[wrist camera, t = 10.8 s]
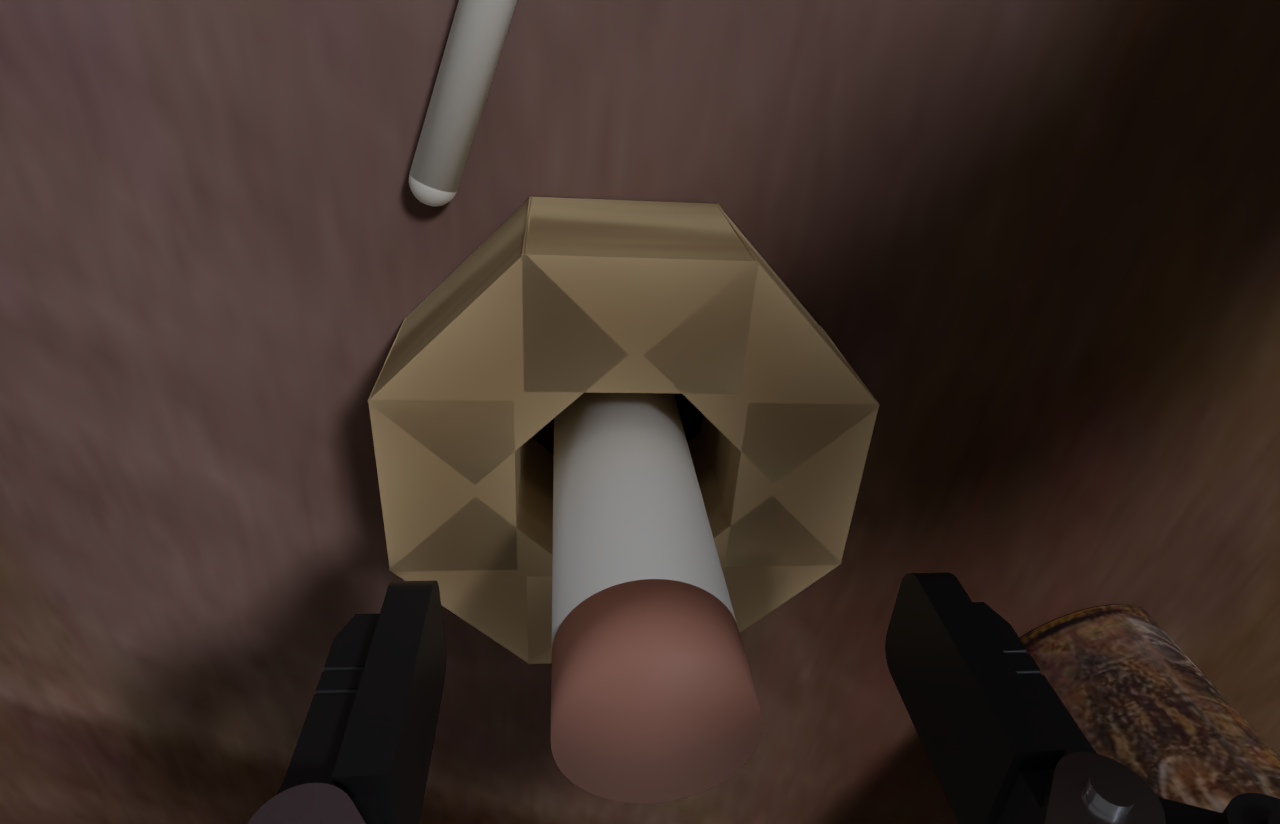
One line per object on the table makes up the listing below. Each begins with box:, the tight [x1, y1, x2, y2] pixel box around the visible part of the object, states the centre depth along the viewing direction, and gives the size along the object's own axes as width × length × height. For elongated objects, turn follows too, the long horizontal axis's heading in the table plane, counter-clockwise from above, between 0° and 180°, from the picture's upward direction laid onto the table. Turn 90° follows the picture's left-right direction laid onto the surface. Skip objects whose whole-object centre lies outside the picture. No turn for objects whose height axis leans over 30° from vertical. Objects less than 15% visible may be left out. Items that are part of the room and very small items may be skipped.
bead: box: [367, 196, 880, 664], centre depth 18 cm, size 10×10×4 cm
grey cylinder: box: [551, 392, 763, 804], centre depth 15 cm, size 3×3×10 cm
